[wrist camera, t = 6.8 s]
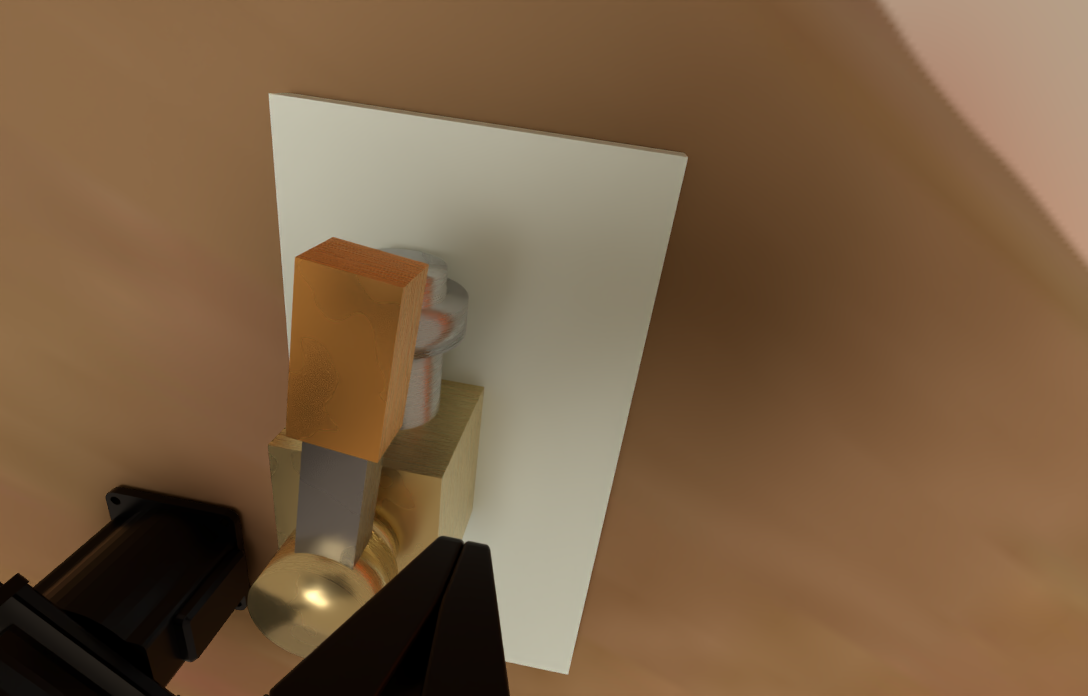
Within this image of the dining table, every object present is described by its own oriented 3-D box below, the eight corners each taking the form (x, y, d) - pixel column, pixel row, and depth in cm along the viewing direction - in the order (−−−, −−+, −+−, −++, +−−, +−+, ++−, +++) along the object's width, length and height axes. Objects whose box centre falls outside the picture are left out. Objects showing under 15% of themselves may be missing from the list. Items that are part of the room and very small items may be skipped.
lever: (390, 614, 17) (363, 675, 16) (285, 583, 17) (246, 641, 16) (455, 272, 12) (426, 303, 11) (307, 229, 12) (253, 254, 11)
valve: (464, 594, 26) (421, 729, 20) (354, 571, 26) (283, 699, 21) (496, 257, 19) (445, 327, 13) (346, 232, 19) (236, 291, 14)
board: (321, 600, 29) (309, 620, 28) (289, 92, 18) (268, 93, 17) (570, 652, 28) (567, 674, 27) (684, 152, 18) (688, 157, 17)
